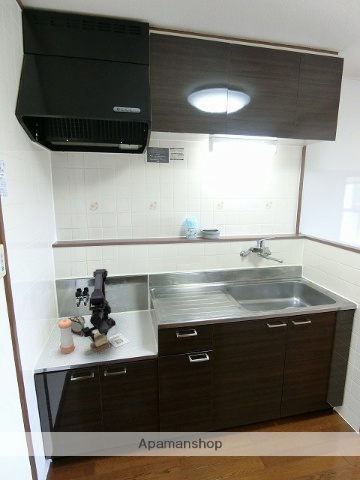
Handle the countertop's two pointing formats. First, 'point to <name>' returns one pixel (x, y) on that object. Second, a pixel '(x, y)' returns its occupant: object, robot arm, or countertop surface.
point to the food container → (77, 324)
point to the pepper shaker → (66, 336)
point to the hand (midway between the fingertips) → (99, 340)
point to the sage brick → (94, 333)
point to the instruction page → (117, 340)
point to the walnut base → (99, 347)
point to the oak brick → (100, 339)
